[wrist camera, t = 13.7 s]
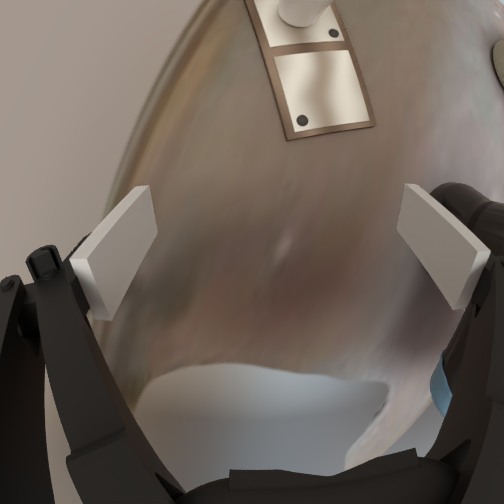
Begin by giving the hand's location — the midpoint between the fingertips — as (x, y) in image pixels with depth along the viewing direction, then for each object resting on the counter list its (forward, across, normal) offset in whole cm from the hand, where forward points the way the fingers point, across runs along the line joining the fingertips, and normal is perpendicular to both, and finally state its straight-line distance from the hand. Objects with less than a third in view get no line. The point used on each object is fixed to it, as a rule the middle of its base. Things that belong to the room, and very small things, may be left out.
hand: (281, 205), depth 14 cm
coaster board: (+26, +6, +11) cm, 29 cm away
